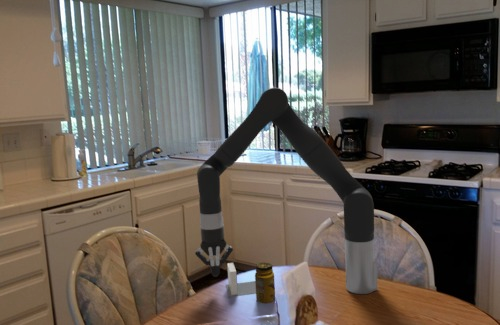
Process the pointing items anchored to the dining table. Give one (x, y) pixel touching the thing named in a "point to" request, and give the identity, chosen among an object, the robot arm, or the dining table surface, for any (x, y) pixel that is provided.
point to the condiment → (264, 283)
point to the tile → (232, 279)
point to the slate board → (243, 288)
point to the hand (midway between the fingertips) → (215, 275)
